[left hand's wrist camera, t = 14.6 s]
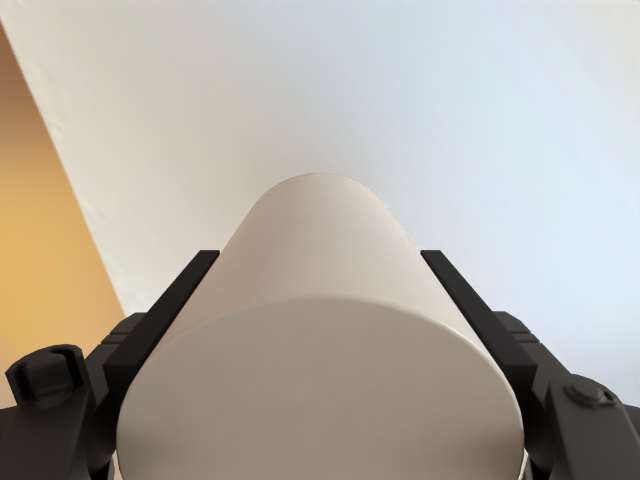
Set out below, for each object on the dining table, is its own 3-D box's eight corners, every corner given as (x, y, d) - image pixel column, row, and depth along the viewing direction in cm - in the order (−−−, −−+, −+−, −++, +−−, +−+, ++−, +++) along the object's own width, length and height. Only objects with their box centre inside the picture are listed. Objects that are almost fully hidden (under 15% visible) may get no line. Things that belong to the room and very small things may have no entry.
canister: (259, 151, 15) (135, 237, 5) (423, 199, 16) (610, 359, 6) (226, 300, 18) (99, 559, 8) (369, 335, 19) (431, 614, 8)
